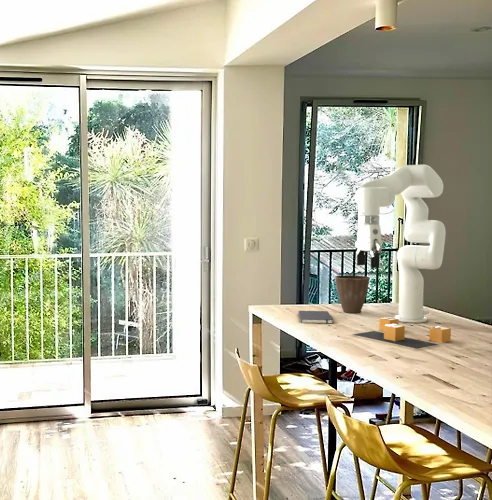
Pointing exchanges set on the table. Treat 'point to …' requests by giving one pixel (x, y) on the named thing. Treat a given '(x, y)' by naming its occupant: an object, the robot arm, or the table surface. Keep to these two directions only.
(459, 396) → the table surface
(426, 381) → the table surface
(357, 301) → the flower pot
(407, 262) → the robot arm
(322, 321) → the notebook
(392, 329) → the letter I
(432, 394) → the table surface
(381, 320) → the letter T
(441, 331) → the letter L
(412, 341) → the word mat
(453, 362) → the table surface
